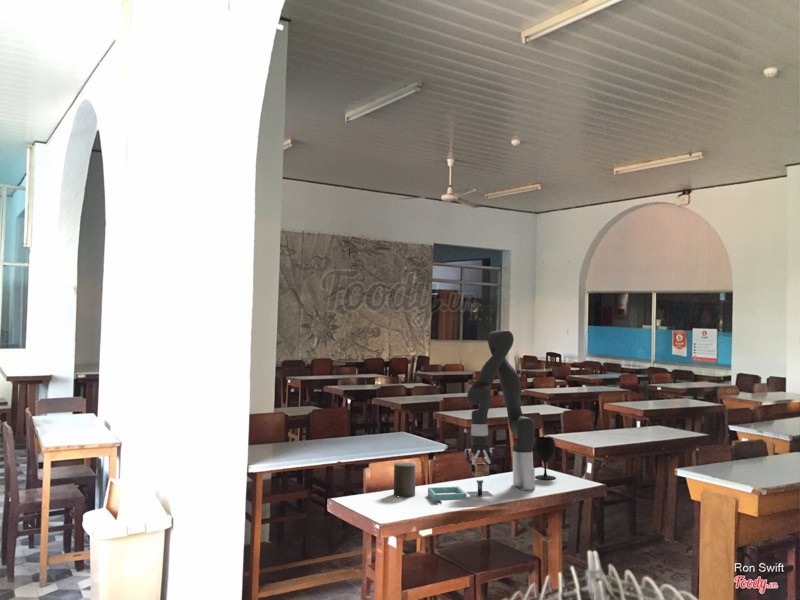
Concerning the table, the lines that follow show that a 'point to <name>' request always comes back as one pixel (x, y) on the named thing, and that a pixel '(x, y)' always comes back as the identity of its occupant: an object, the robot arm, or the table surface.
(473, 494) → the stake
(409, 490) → the pillar candle
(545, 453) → the wine glass
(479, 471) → the walnut collar
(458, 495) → the tray
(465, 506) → the table surface
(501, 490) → the table surface
